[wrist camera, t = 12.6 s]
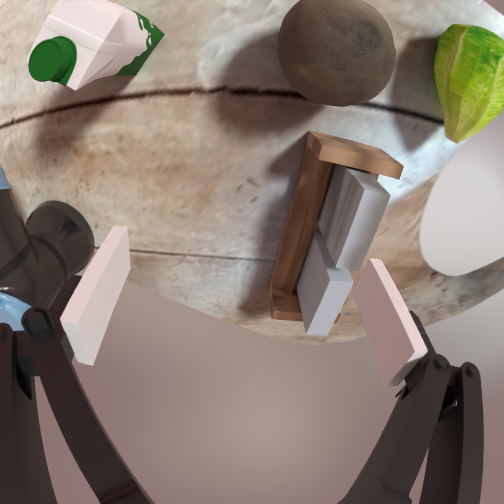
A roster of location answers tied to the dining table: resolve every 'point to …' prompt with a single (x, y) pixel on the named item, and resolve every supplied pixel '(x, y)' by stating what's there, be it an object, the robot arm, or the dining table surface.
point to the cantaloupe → (336, 51)
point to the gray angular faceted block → (321, 287)
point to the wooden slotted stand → (330, 212)
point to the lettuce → (469, 79)
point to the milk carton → (91, 43)
